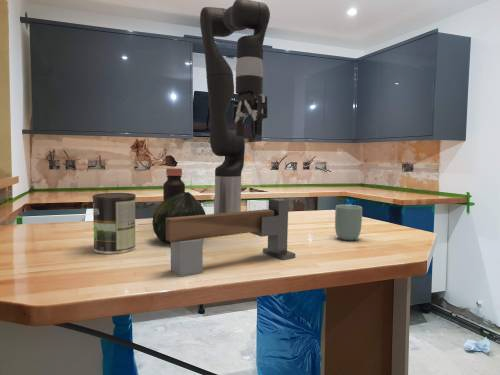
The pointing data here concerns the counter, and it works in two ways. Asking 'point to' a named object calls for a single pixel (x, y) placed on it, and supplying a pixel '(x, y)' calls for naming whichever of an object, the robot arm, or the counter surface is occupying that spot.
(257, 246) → the counter surface
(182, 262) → the rest block
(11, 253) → the counter surface
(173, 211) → the squash
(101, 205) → the coffee can
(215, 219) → the rail
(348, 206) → the cup
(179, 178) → the bottle
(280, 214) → the bracket
